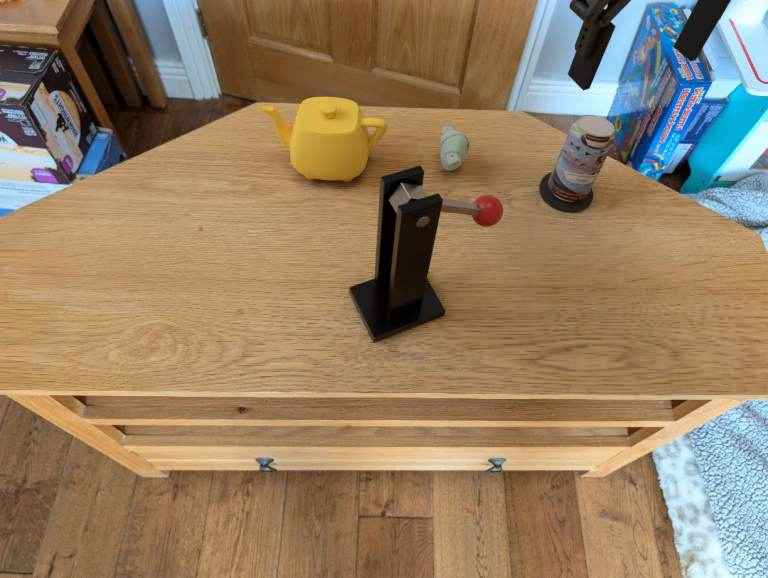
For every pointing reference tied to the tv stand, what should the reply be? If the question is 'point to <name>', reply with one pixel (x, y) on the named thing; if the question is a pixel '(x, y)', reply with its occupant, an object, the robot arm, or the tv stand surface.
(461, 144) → the pale green rounded lump
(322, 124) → the teapot
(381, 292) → the bracket
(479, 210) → the lever
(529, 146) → the tv stand surface
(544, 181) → the coaster
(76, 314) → the tv stand surface
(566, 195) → the beverage can
